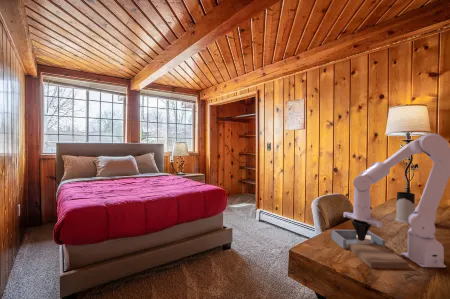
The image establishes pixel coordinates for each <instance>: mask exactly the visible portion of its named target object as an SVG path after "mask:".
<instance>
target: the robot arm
mask: <svg viewBox="0 0 450 299" xmlns="http://www.w3.org/2000/svg"><path fill="white" fill-rule="evenodd" d="M422 153H423V154H425V155H427V157H428V158H429V159H430V161H432V163H433V164H432V167H431V170H430V172H429V175H428V178H427V181H426V183H425V186H424V189H423V191H422V194H421V197H420V199H419V201H418V204H417V205H416V206H415V211H414V212H413V213H412V214H411V215H410V216H409V218H408V221H409V225H410V228H409V229H407V252H401V253H400V255H402V256H404V257H405V258H407V259H408V260H410V261H412V262H414V263H415V264H416V265H418V266H420V267H422V268H446V267H447V265H446V264H445V262H444V259H445V258H444V256H445V248H444V246H443V244H442V243H441V242H440V241H438V240H437V239H436V235H435V233H436V226H435V222H436V218H437V211H438V207H439V205H440V203H441V200H442V197H443V195H444V192H445V189H446V187H447V184H448V182H449V179H450V144H449V141H447V140H446V138H444V137H443V136H442V135H440V134H438V133H434V132H433V133H426V134H424V135H420V136H419V137H418V138H416V139H415V140H414V139H413V140H412V141H410V142H408V143H407V144H405V145H403V147H401V148H400V149H398V150H397V151H396V152H394V153H393V154H392V155H390V156H389V157H388V158H386V159H385V160H384V161H377V162H372V163H371V164H370V167H368V168H366V170H364V171H363V170H362V171H360V172H359V173H360V174H358V175H357V176H356V177H355V178H354V179H353V181H352V184H353V192H354V193H353V208H352V209H353V211H352V212H350V211H344V212H343V218H348V219H351V220H353V221H351V224H352V225H353V228H354V230H356V233H357V236H358V240H360V241H363V240H365V237H366V234H367V232H368V231H370V228H371V226H374V227H377V228H383V221H381V220H378V219H375V218H374V217H371V193H370V192H371V191H370V190H371V186H372V185H375V184H376V183H378V182H379V181H380V180H382V179H384V178H385V177H387V176H388V175H389V174H390V172H391V171H390V169H391V168H393V167H394V166H396V165H397V164H399V163H401V162H402V161H403V160H405V159H406V158H408V157H409V156H411V155H417V154H422Z"/></svg>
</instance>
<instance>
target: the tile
mask: <svg viewBox="0 0 450 299" xmlns="http://www.w3.org/2000/svg"><path fill="white" fill-rule="evenodd" d="M356 243H357V244H371V236H369V235H366V237H365V240H363V241H360V240H358V236H356Z"/></svg>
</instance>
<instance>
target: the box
mask: <svg viewBox="0 0 450 299" xmlns="http://www.w3.org/2000/svg"><path fill="white" fill-rule="evenodd" d="M366 235H369V236H371V244H380V245H382V246H383V247H385V248H386V246H385V245H386V240H385V239H383V238H382V237H380V236H378V235H376V234H375V233H373V232H372V231H370V230H368V232H367V234H366ZM356 236H357V233H356V230H355V229H330V239H331V240H332V241H333V242H335V243H336V244H337V245H339V247H341V249H343V250H347V249H348V244H357V243H356ZM348 250H349V249H348Z"/></svg>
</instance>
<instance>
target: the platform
mask: <svg viewBox="0 0 450 299" xmlns="http://www.w3.org/2000/svg"><path fill="white" fill-rule="evenodd" d="M348 250H349V251H350V252H352V253H353V254H354V255H355V256H356V257H357V258H359V259H360V260H361V261H363V263H365V264H366V265H367V266H368V267H370V268H371V269H373V268H374V269H409V261H407V260H405V259H404V258H403V257H401V256H399V255H398V254H396V253H394V252H393V251H391V250H389V249H388V248H386V246H385V247H383V246H382V245H380V244H348Z"/></svg>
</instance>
